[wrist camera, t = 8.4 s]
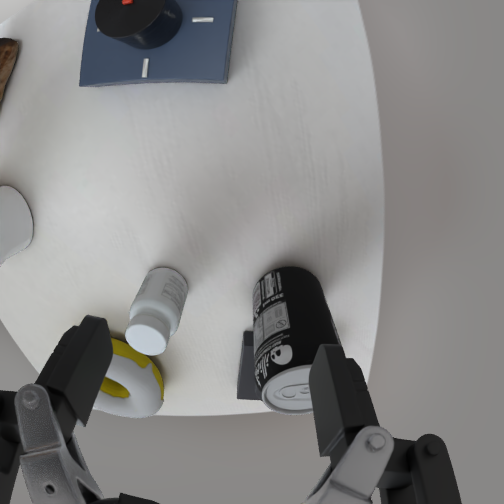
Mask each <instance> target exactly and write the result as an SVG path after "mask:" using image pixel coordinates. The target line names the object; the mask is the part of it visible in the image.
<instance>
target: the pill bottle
mask: <svg viewBox="0 0 504 504" xmlns="http://www.w3.org/2000/svg"><path fill="white" fill-rule="evenodd" d="M187 292H188V288H187V284H186V281H185V279H184V278H183V277H182V276H181V275H180V274H179V273H178V272H176V271H175V270H172V269H169V268H156V269H154V270H152V271H150V272H149V273H148V274H147V276H146V278H145V279H144V281H143V283H142V285H141V287H140V289H139V291H138V293H137V295H136V297H135V299H134V301H133V303H132V306H131V308H130V313H129V315H130V322H129V324H128V327H127V329H126V333H125V337H126V340H127V342H128V343H129V345H130V346H131V347H132V348H133V349H135V350H136V351H138V352H140V353H143V354H146V355H158V354H161V353H162V352H164V351H165V349H166V347H167V344H168V341H169V337H170V336H172V335H173V334H174V333H175V332H176V331H177V329H178V326H179V323H180V319H181V315H182V311H183V307H184V304H185V300H186V296H187Z"/></svg>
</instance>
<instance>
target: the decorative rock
mask: <svg viewBox="0 0 504 504" xmlns="http://www.w3.org/2000/svg"><path fill="white" fill-rule="evenodd" d="M18 49H19V46H18V43H17V41H14V40H12V39H9V38H0V101H1V99H2V97H3V92H4V87H5V84H6V82H7V79H8V78H9V76H10V73H11V71H12V69H13V66H14V63H15V60H16V56H17V52H18Z"/></svg>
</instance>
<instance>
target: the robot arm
mask: <svg viewBox="0 0 504 504" xmlns="http://www.w3.org/2000/svg"><path fill="white" fill-rule="evenodd" d="M112 357H113V345H112V341H111V337H110V332H109V328H108V324H107V321H106V319H105V318H100V317H95V316H90V315H86V316H85V317H84V319H83V320H82V322H81V324H80V325H79V326H73V327H72V328H70V329H69V330H68V331H66V332H65V333H64V334H63V336H62V338H61V339H60V341H59V343H58V345H57V346H56V347H55V349H54V352H53V353H52V354H51V356H50V357H49V359H48V361H47V363H46V364H45V366H44V368H43V370H42V371H41V373H40V375H39V377H38V379H37V380H36V382H35V383H34V384H27V385H25V386H23V387H22V388H20V390H18V392H14V391H1V390H0V504H10V500H11V495H12V491H13V487H14V484H15V480H16V476H17V473H18V469H19V466H20V465H21V469H22V472H23V476H24V479H25V483H26V486H27V489H28V492H29V495H30V498H31V501H32V503H33V504H159V503H157V502H154V501H152V500H148V499H143V498H139V497H135V496H130V495H127V494H123V493H120V496H119V498H107V499H105V498H104V496H103V494H102V492H101V490H100V489H99V487H98V485H97V484H96V482H95V481H94V479H93V478H92V476H91V474H90V472H89V470H88V468H87V466H86V463H85V461H84V458H83V456H82V453H81V451H80V448H79V445H78V443H77V440H76V437H75V434H74V432H73V430H74V427H75V425H76V424H77V425H80V426H83V427H86V424H87V421H88V419H89V416H90V413H91V410H92V408H93V405H94V403H95V400H96V398H97V395H98V393H99V390H100V388H101V385H102V383H103V380H104V378H105V375H106V373H107V371H108V368H109V366H110V364H111V361H112ZM364 380H365V379H364V376H363V373H362V370H361V368H360V366H359V365H358V364H357V363H356V362H355V360H354V359H353V358H346V356H345V353H344V350H343V347H342V346H341V345H336V344H321V345H320V346H319V349H318V351H317V354H316V356H315V359H314V361H313V364H312V366H311V369H310V372H309V389H310V395H311V401H312V407H313V413H314V420H315V425H316V432H317V439H318V445H319V452H320V457H322V456H330V460H331V464H330V465H329V466H328V468H327V469H326V471H325V472H324V474H323V475H322V477H321V478H320V479H319V481H318V482H317V484H316V485H315V487H314V488H313V489H312V491H311V492H310V493H309V495H308V496H307V497H306V499H305V500H304V501H303V502H302V503H301V504H372V503H373V502H372V500H371V496H372V494H373V492H374V490H375V487H378V488H379V490H380V497H381V504H462V503H461V499H460V494H459V490H458V486H457V482H456V479H455V475H454V471H453V468H452V464H451V461H450V458H449V454H448V451H447V448H446V445H445V443H444V441H443V440H442V439H441V438H440V437H438V436H436V435H434V434H425V435H423V436H421V437H420V438H419V439H418V440H417V441H411V440H404V439H397V438H394V437H392V436H391V434H390V433H389V432H388V431H387V430H386V429H384V428H382V427H380V425H379V423H378V420H377V417H376V413H375V410H374V407H373V404H372V401H371V397H370V394H369V392H368V391H367V385H366V382H365V381H364Z"/></svg>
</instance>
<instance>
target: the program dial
mask: <svg viewBox="0 0 504 504" xmlns="http://www.w3.org/2000/svg"><path fill="white" fill-rule="evenodd" d="M95 23H96V26H97V28H98V29H99V31H100V32H101V33H103V34H104V35H106V36H108V37H111V38H113V39H116V40H118V41H120V42H123V43H125V44H127V45H130V46H132V47H134V48H137V49H143V50H147V49H154V48H157V47H160V46H162V45H164V44H165V43H167V42H168V41H169V40H171V39H172V38H173V37H174V36H175V34H176V33H177V32H178V30H179V28H180V26H181V23H182V11H181V8H180V6H179V5H178V3H177V2H176V1H175V0H99V2H98V4H97V6H96V10H95Z"/></svg>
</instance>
